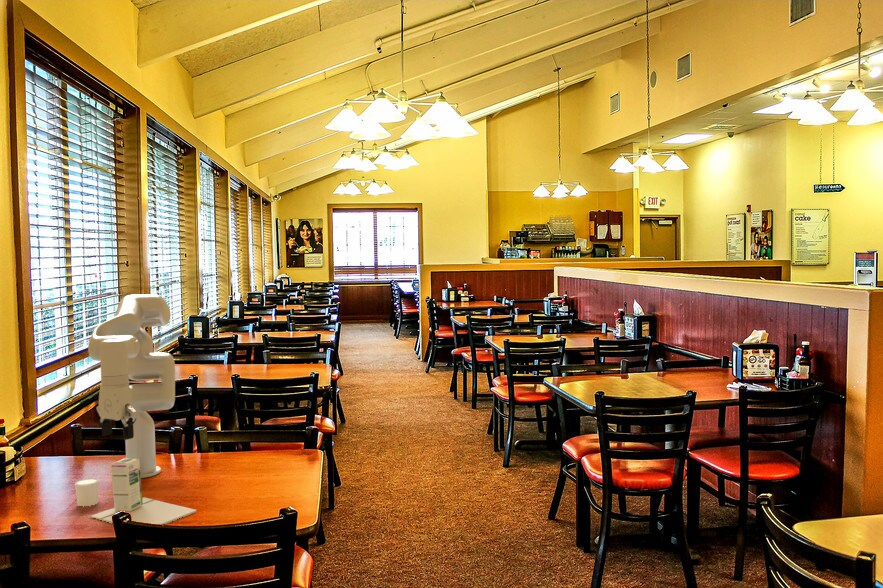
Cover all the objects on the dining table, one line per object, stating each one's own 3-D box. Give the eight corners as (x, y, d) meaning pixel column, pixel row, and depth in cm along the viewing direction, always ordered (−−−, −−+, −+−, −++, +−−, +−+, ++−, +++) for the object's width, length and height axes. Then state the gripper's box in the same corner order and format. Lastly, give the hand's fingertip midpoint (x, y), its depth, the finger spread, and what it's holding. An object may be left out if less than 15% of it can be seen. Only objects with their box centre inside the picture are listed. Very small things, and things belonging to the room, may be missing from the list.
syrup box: (130, 511, 210) (127, 463, 210) (113, 511, 212) (110, 462, 211) (143, 505, 216) (140, 457, 215) (125, 504, 217) (123, 457, 217)
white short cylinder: (83, 509, 216) (82, 486, 215) (70, 505, 219) (69, 482, 219) (104, 502, 222) (103, 480, 221) (91, 498, 225) (90, 476, 225)
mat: (90, 517, 208) (90, 515, 208) (144, 499, 224) (143, 497, 224) (144, 532, 196) (143, 530, 196) (196, 511, 212) (196, 509, 212)
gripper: (85, 380, 214) (88, 436, 216) (123, 385, 206) (125, 443, 207) (107, 376, 221) (110, 430, 222) (145, 380, 213) (147, 437, 214)
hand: (117, 436), depth 215 cm, fingers open, 9 cm apart
